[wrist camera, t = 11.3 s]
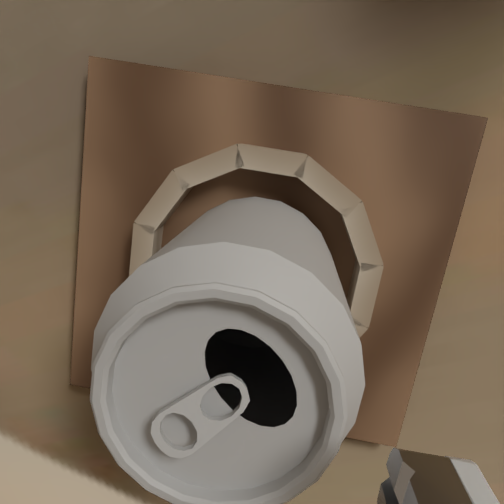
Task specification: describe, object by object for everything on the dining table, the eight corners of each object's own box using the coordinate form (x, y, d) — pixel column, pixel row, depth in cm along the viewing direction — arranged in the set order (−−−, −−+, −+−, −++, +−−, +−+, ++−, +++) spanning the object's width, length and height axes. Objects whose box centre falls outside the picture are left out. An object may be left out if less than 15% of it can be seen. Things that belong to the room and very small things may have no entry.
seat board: (80, 373, 26) (56, 399, 23) (99, 60, 21) (73, 49, 19) (391, 432, 25) (402, 466, 22) (477, 119, 20) (504, 115, 18)
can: (361, 290, 22) (440, 461, 10) (238, 365, 23) (183, 586, 12) (275, 162, 21) (252, 190, 9) (151, 250, 22) (-4, 368, 11)
